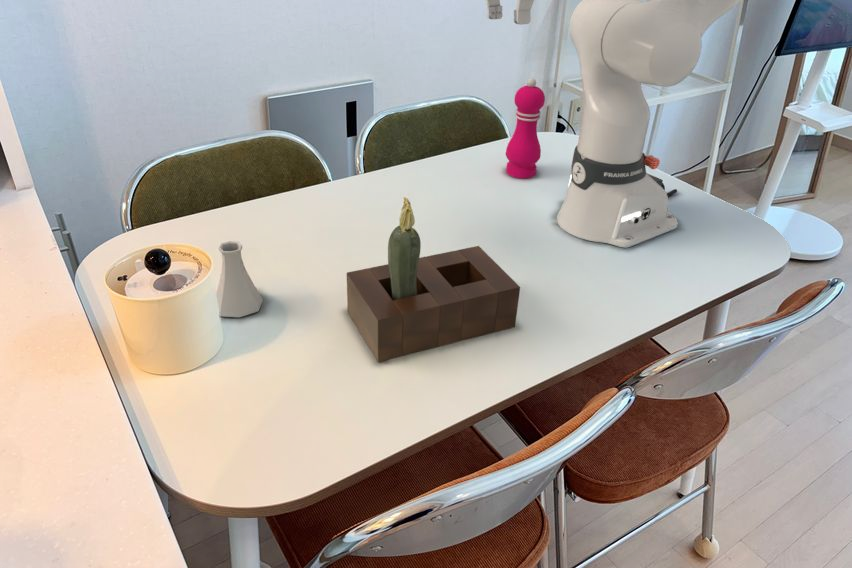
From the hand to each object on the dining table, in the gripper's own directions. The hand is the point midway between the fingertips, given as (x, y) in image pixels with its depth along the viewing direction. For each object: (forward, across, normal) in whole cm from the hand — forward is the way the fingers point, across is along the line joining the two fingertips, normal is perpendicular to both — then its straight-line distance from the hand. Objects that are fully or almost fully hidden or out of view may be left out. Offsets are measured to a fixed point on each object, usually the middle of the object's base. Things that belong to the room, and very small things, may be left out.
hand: (507, 21), depth 98 cm
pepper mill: (+34, +35, -18) cm, 52 cm away
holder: (+39, -10, +17) cm, 44 cm away
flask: (+36, +1, +44) cm, 57 cm away
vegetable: (+39, -11, +22) cm, 46 cm away
